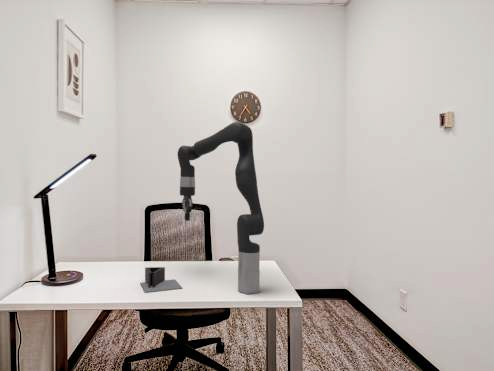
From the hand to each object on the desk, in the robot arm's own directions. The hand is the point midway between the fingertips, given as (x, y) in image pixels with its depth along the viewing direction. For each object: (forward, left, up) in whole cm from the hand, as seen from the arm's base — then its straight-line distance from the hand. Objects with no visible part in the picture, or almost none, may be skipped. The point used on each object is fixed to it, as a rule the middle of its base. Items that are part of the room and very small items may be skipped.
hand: (187, 220), depth 185 cm
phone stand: (-7, +17, -24) cm, 30 cm away
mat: (-16, +16, -27) cm, 35 cm away
